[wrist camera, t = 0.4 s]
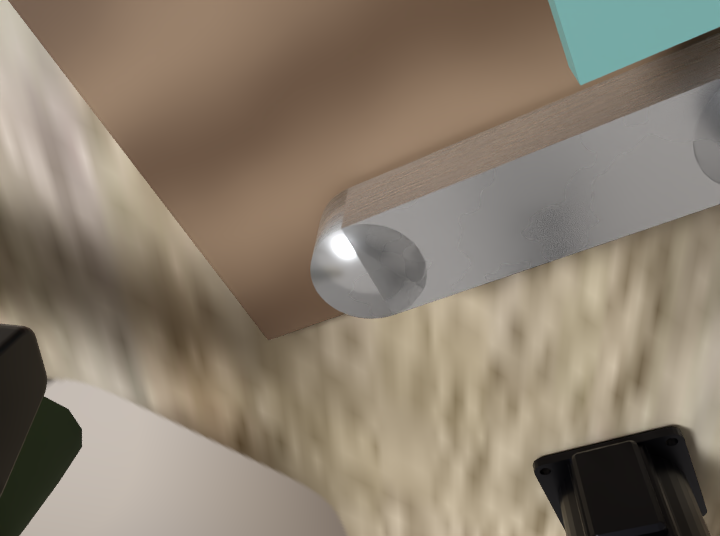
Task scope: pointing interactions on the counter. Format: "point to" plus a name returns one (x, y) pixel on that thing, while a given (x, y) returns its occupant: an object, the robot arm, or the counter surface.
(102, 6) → the board
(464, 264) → the link
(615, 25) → the keeper
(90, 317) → the counter surface
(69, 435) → the character mug
